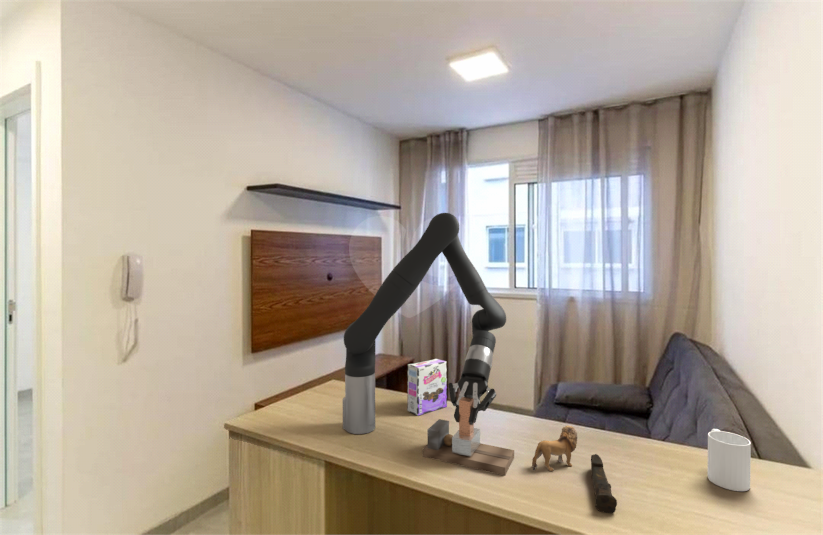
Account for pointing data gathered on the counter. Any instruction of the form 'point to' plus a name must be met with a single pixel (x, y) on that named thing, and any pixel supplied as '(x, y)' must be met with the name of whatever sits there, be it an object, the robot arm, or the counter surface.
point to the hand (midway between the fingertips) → (463, 422)
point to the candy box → (427, 386)
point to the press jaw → (465, 431)
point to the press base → (481, 459)
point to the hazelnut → (448, 439)
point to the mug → (729, 460)
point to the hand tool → (602, 487)
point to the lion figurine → (557, 447)
